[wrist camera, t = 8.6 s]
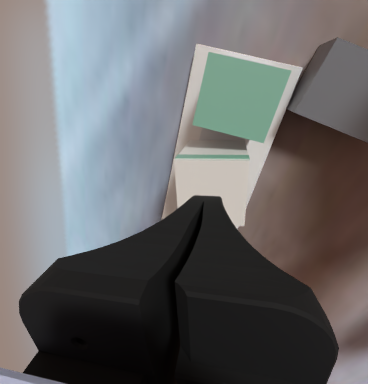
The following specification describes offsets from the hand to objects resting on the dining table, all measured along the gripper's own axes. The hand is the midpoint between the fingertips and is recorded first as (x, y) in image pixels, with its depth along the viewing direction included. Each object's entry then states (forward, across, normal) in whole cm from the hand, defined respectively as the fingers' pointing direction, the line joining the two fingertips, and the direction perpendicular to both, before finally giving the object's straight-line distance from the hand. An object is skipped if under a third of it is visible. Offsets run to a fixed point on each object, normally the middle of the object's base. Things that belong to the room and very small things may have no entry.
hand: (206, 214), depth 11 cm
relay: (+9, -8, -4) cm, 13 cm away
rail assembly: (+9, 0, 0) cm, 9 cm away
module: (+7, 0, 0) cm, 7 cm away
